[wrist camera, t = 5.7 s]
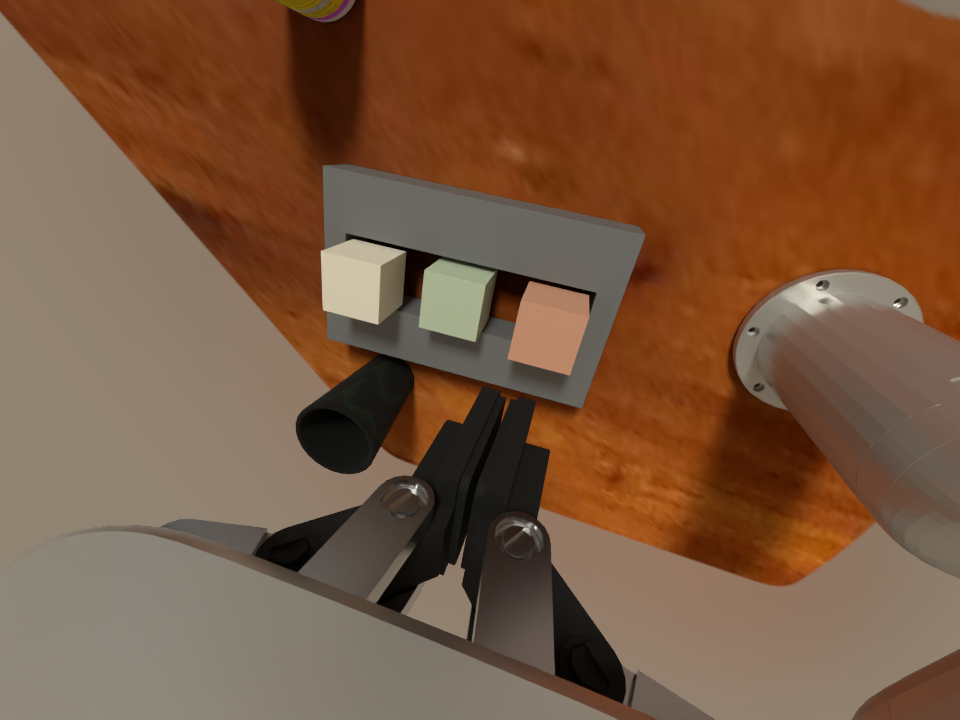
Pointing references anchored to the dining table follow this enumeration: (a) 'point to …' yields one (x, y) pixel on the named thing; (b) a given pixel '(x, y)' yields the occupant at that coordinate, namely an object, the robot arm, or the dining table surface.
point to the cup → (355, 415)
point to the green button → (457, 297)
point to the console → (488, 242)
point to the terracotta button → (549, 327)
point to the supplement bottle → (320, 8)
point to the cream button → (362, 280)
